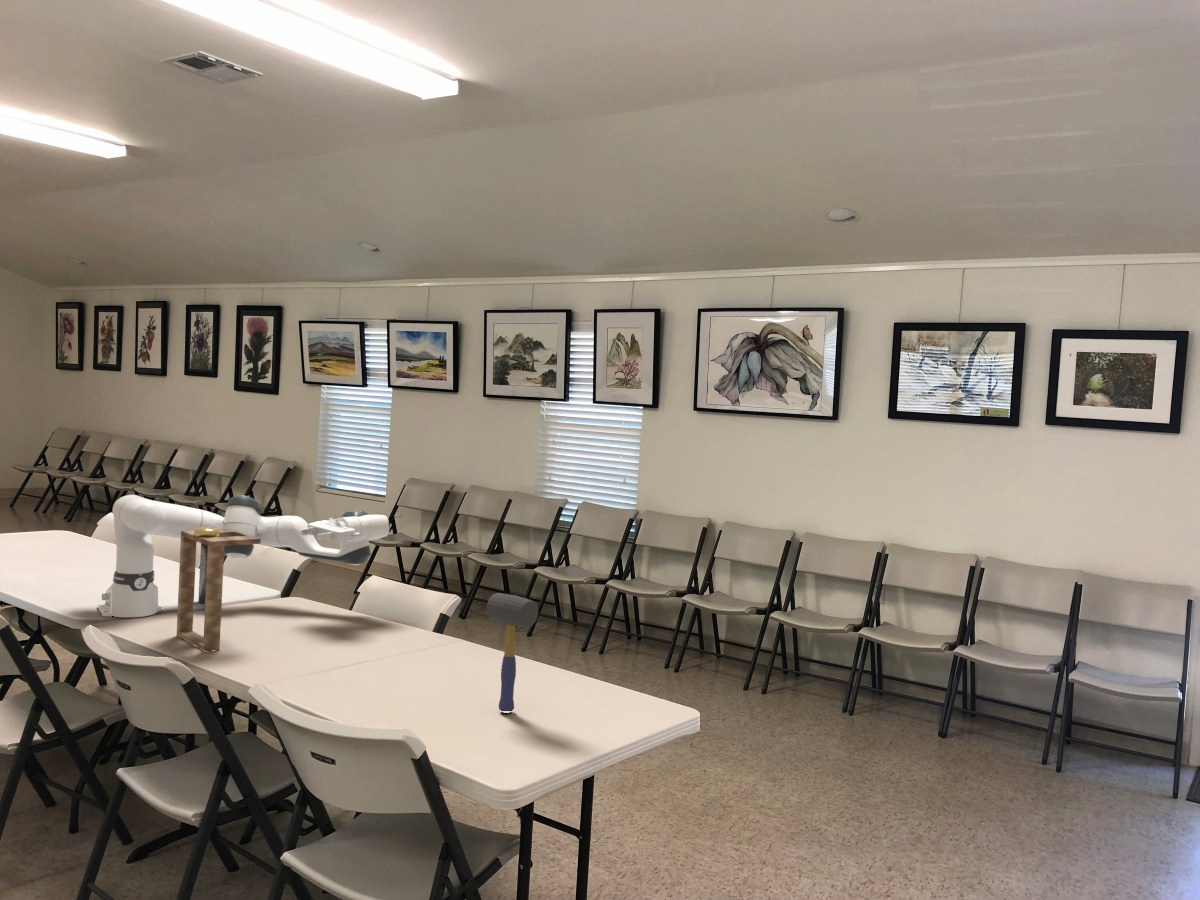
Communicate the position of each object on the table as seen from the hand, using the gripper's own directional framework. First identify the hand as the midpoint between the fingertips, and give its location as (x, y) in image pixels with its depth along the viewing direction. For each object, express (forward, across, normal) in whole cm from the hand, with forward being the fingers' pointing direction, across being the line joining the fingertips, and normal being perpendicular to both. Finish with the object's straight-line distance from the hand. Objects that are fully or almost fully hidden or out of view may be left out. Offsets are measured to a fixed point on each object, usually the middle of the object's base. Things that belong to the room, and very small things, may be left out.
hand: (309, 534), depth 306 cm
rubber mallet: (+3, -101, -31) cm, 106 cm away
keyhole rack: (+31, +1, -30) cm, 43 cm away
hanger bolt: (+34, +1, -19) cm, 39 cm away
